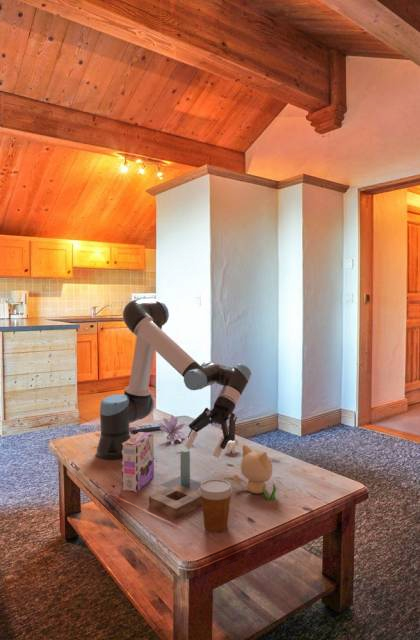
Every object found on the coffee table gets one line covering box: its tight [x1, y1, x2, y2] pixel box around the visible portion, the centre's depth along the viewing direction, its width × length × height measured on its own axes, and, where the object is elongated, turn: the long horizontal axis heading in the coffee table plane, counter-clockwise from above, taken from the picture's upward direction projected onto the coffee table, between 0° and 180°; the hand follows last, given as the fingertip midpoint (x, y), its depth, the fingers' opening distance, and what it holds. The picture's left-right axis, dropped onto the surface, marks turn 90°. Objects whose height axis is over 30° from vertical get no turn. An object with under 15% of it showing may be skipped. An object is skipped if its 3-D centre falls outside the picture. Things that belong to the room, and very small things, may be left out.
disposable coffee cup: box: [198, 478, 233, 533], centre depth 125 cm, size 10×10×12 cm
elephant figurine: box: [226, 437, 240, 455], centre depth 184 cm, size 7×8×6 cm
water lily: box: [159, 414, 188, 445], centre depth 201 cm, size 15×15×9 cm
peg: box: [179, 449, 191, 487], centre depth 151 cm, size 3×3×12 cm
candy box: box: [121, 431, 155, 493], centre depth 153 cm, size 14×6×16 cm, turn 163°
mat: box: [160, 475, 202, 491], centre depth 152 cm, size 12×10×1 cm
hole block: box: [148, 484, 202, 520], centre depth 137 cm, size 12×12×4 cm
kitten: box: [232, 444, 277, 500], centre depth 147 cm, size 15×10×15 cm
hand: (200, 451), depth 155 cm, fingers open, 13 cm apart
